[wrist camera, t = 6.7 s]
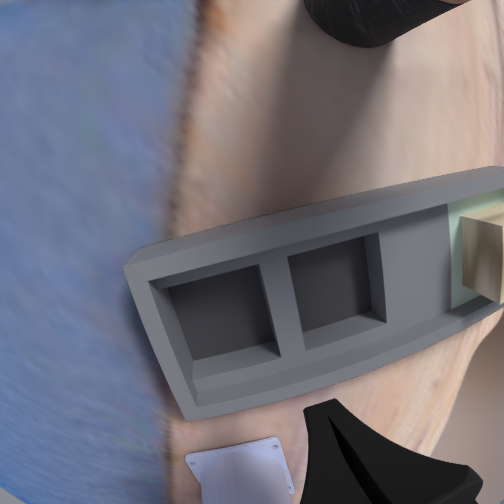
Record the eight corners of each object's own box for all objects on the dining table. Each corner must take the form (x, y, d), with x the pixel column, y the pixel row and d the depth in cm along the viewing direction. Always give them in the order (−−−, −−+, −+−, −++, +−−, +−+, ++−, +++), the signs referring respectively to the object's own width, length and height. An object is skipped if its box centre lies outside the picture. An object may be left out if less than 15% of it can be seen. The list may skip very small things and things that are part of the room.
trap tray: (495, 279, 23) (526, 293, 19) (188, 384, 21) (186, 421, 17) (491, 166, 20) (526, 168, 16) (139, 248, 19) (122, 266, 15)
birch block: (503, 265, 20) (539, 280, 16) (462, 285, 19) (499, 304, 15) (502, 202, 18) (541, 210, 14) (460, 215, 18) (502, 226, 14)
